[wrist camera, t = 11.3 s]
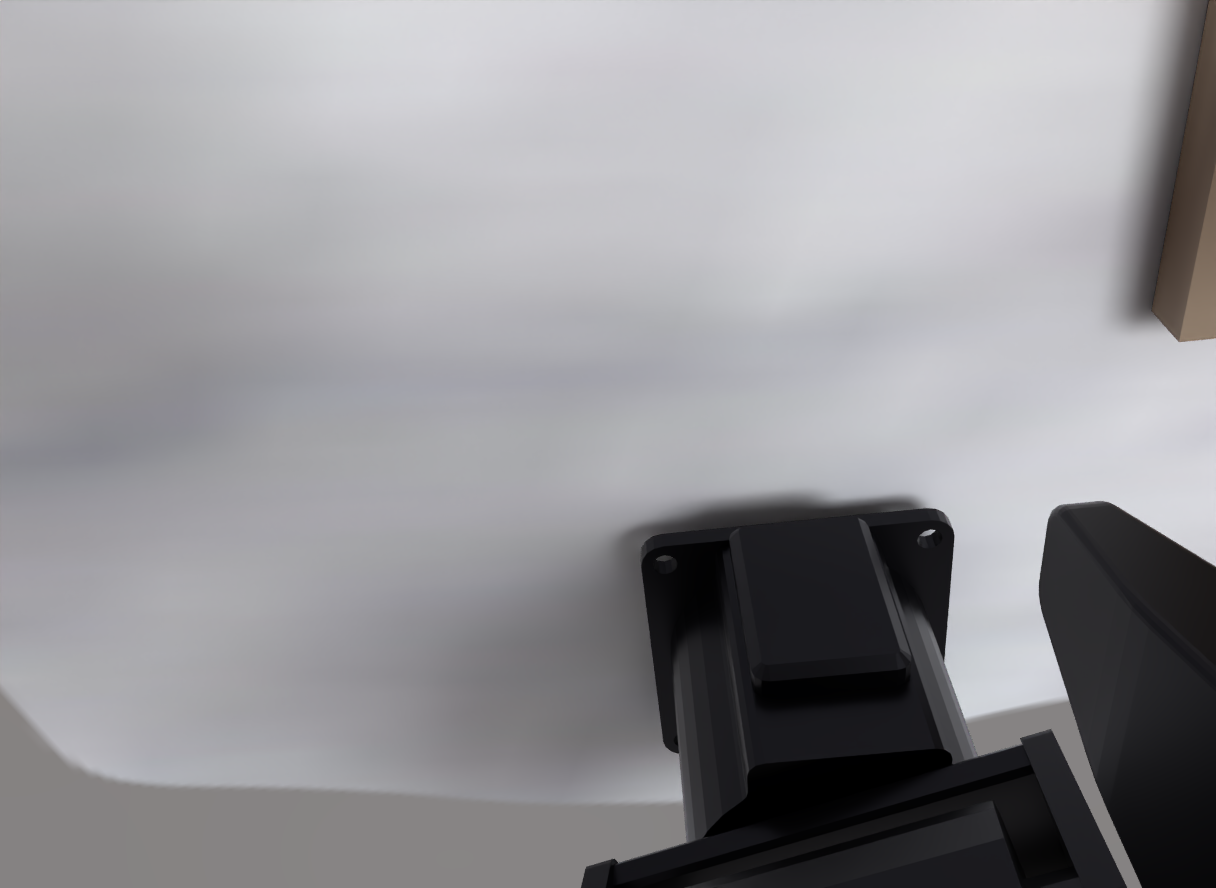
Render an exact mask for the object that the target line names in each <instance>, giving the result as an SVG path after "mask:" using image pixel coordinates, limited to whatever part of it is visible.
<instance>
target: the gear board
mask: <svg viewBox="0 0 1216 888" xmlns="http://www.w3.org/2000/svg"><path fill="white" fill-rule="evenodd" d="M1152 312H1153V313H1154V315H1155V316H1156V317H1157V318H1158V319H1159V320H1160V321H1161V322H1162V324H1163V325H1164V326H1165V327H1166V328H1167V329H1168V330H1169V331H1170V333H1171V334H1172V335H1173V336H1174V337H1175V338H1176V339H1177V340H1178V342H1185V341H1195V340H1204V339H1214V338H1216V0H1209V3H1208V9H1207V14H1206V20H1205V25H1204V30H1203V36H1202V41H1201V47H1200V52H1199V57H1198V63H1197V68H1196V74H1195V79H1194V84H1193V90H1192V95H1191V101H1190V106H1189V111H1188V117H1187V122H1186V128H1185V133H1184V138H1183V144H1182V149H1181V155H1180V160H1179V166H1178V171H1177V176H1176V182H1175V187H1174V193H1173V198H1172V203H1171V209H1170V214H1169V220H1168V225H1167V230H1166V236H1165V241H1164V247H1163V252H1162V257H1161V263H1160V268H1159V274H1158V279H1157V284H1156V290H1155V295H1154V301H1153V306H1152Z"/></svg>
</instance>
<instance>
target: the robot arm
mask: <svg viewBox="0 0 1216 888" xmlns="http://www.w3.org/2000/svg"><path fill="white" fill-rule="evenodd" d="M930 529H931V530H936V531H935V532H934V533H932V534H931V535H928V536H925V537H924V536H919V535H920V534H922V533H923V532H924V531H927V530H930ZM953 548H954V532H953V528H952V526H951V524H950V521H949V519H948V517H947V516H946V515H945V514H944V513H943V512H942V511H939V510H937V509H930V508H924V509H914V510H904V511H894V512H883V513H873V514H863V515H853V516H843V517H832V518H822V519H812V520H802V521H791V522H781V523H771V524H761V525H751V526H740V527H730V528H720V529H710V530H699V531H689V532H679V533H669V534H661V535H657V536H653V537H651V538H650V539H648V540H647V541H646V542H645V543H644V545H643V546H642V548H641V568H642V576H643V584H644V592H645V600H646V607H647V615H648V623H649V631H650V639H651V647H652V655H653V663H654V671H655V679H656V686H657V694H658V702H659V710H660V718H661V726H662V734H663V742H664V744H665V746H666V747H667V748H668V749H669V750H670V751H672V752H675V753H679V758H680V769H681V781H682V793H683V804H684V815H685V827H686V839H687V843H684V844H680V845H677V846H674V847H670V848H667V849H663V850H660V851H657V852H653V853H650V854H647V855H643V856H640V857H637V858H633V859H630V860H626V861H623V862H619V863H618V862H617V861H616V860H615V859H611V860H608V861H604V862H601V863H598V864H594V865H591V866H588V867H586V869H585V873H584V878H583V882H582V886H581V888H1127V886H1126V884H1125V882H1124V880H1123V878H1122V876H1121V874H1120V872H1119V870H1118V868H1117V866H1116V863H1115V861H1114V859H1113V857H1112V855H1111V853H1110V851H1109V849H1108V847H1107V845H1106V842H1105V840H1104V838H1103V836H1102V834H1101V832H1100V830H1099V828H1098V826H1097V824H1096V822H1095V820H1094V817H1093V815H1092V813H1091V811H1090V809H1089V807H1088V805H1087V803H1086V801H1085V799H1084V797H1083V795H1082V792H1081V790H1080V788H1079V786H1078V784H1077V782H1076V780H1075V778H1074V776H1073V774H1072V772H1071V769H1070V768H1069V765H1068V763H1067V761H1066V759H1065V757H1064V755H1063V753H1062V751H1061V749H1060V746H1059V744H1058V742H1057V740H1056V738H1055V736H1054V734H1053V732H1052V730H1051V729H1049V730H1046V731H1043V732H1039V733H1036V734H1033V735H1029V736H1026V737H1022V738H1020V739H1021V742H1022V744H1019V745H1016V746H1012V747H1009V748H1005V749H1002V750H999V751H995V752H992V753H988V754H985V755H982V756H978V755H977V752H976V749H975V746H974V744H973V741H972V738H971V735H970V733H969V730H968V727H967V724H966V722H965V719H964V716H963V713H962V710H961V708H960V705H959V702H958V699H957V697H956V694H955V691H954V688H953V686H952V683H951V680H950V677H949V675H948V672H947V669H946V666H945V664H944V657H945V645H946V633H947V621H948V609H949V596H950V584H951V572H952V560H953ZM663 555H667V556H671V557H673V558H672V559H671V560H669V561H665V562H664V561H658V560H657V558H658V557H660V556H663ZM1039 598H1040V605H1041V610H1042V614H1043V617H1044V620H1045V624H1046V627H1047V630H1048V633H1049V636H1050V640H1051V643H1052V646H1053V649H1054V652H1055V656H1056V659H1057V662H1058V665H1059V668H1060V672H1061V675H1062V678H1063V681H1064V684H1065V688H1066V691H1067V694H1068V697H1069V700H1070V704H1071V707H1072V710H1073V713H1074V716H1075V720H1076V723H1077V726H1078V729H1079V732H1080V735H1081V738H1082V742H1083V745H1084V748H1085V752H1086V755H1087V758H1088V760H1089V763H1090V766H1091V769H1092V772H1093V775H1094V778H1095V781H1096V784H1097V786H1098V788H1099V791H1100V793H1101V796H1102V798H1103V801H1104V803H1105V805H1106V808H1107V810H1108V812H1109V814H1110V817H1111V819H1112V821H1113V824H1114V826H1115V828H1116V830H1117V833H1118V835H1119V837H1120V839H1121V841H1122V844H1123V846H1124V848H1125V850H1126V853H1127V855H1128V857H1129V859H1130V862H1131V864H1132V866H1133V868H1134V870H1135V873H1136V875H1137V877H1138V879H1139V881H1140V884H1141V886H1142V888H1216V567H1215V566H1214V565H1212V564H1211V563H1209V562H1207V561H1206V560H1204V559H1202V558H1201V557H1199V556H1197V555H1196V554H1194V553H1192V552H1191V551H1189V550H1188V549H1186V548H1184V547H1183V546H1181V545H1179V544H1178V543H1176V542H1174V541H1173V540H1171V539H1170V538H1168V537H1166V536H1165V535H1163V534H1161V533H1160V532H1158V531H1156V530H1155V529H1153V528H1151V527H1150V526H1148V525H1147V524H1145V523H1143V522H1142V521H1140V520H1138V519H1137V518H1135V517H1133V516H1132V515H1130V514H1129V513H1127V512H1125V511H1124V510H1122V509H1120V508H1119V507H1117V506H1115V505H1113V504H1111V503H1109V502H1104V501H1095V502H1085V503H1075V504H1065V505H1060V506H1058V507H1056V508H1055V509H1054V510H1052V512H1051V514H1050V517H1049V519H1048V524H1047V531H1046V538H1045V545H1044V552H1043V559H1042V566H1041V573H1040V580H1039Z"/></svg>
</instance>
